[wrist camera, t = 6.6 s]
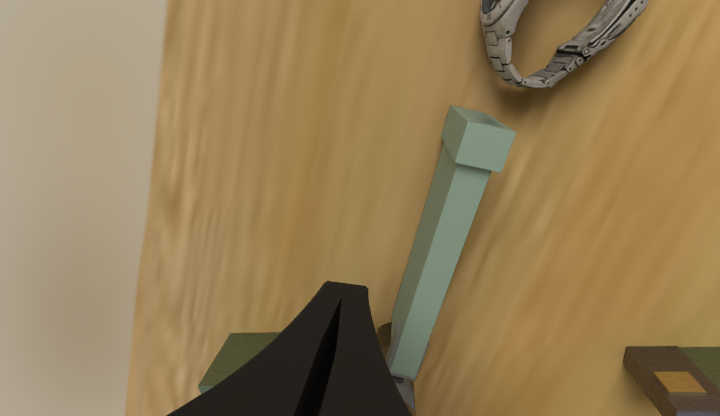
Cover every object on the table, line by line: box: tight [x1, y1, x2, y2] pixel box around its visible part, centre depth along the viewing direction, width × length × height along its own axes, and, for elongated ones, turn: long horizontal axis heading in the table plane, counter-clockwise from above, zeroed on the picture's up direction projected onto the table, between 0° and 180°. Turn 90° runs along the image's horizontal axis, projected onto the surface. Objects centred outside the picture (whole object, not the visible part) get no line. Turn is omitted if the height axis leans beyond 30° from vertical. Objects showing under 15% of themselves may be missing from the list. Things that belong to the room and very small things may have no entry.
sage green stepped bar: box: [386, 105, 516, 381], centre depth 16 cm, size 12×2×4 cm, turn 169°
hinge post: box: [198, 323, 416, 416], centre depth 19 cm, size 2×12×7 cm, turn 97°
